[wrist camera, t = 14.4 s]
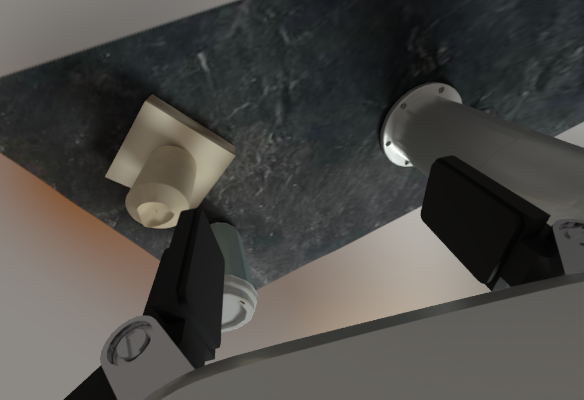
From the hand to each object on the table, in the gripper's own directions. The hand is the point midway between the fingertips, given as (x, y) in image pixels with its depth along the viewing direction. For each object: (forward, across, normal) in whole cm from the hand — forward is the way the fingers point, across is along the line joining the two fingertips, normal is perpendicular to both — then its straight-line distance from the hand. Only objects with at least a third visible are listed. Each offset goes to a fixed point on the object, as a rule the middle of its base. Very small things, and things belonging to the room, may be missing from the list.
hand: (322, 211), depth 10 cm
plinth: (+25, +14, +6) cm, 29 cm away
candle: (+22, +13, +6) cm, 27 cm away
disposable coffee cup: (+25, +12, +22) cm, 36 cm away
